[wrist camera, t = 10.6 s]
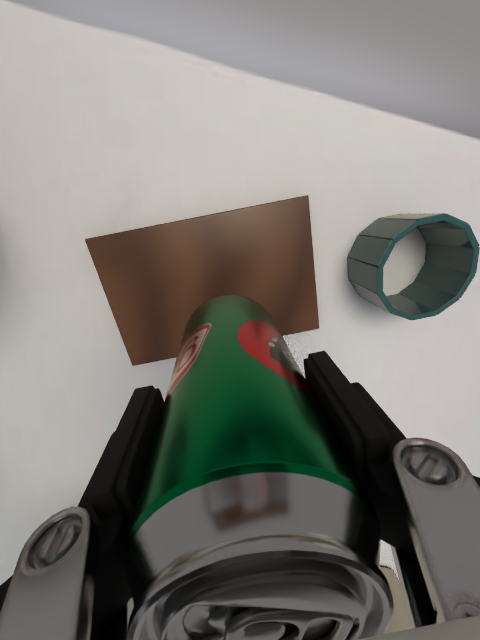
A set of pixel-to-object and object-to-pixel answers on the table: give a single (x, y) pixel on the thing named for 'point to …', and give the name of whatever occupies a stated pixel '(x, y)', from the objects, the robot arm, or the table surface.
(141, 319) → the walnut board
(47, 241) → the table surface
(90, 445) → the table surface
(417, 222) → the teal cup
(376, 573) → the soda can
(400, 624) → the travel mug
